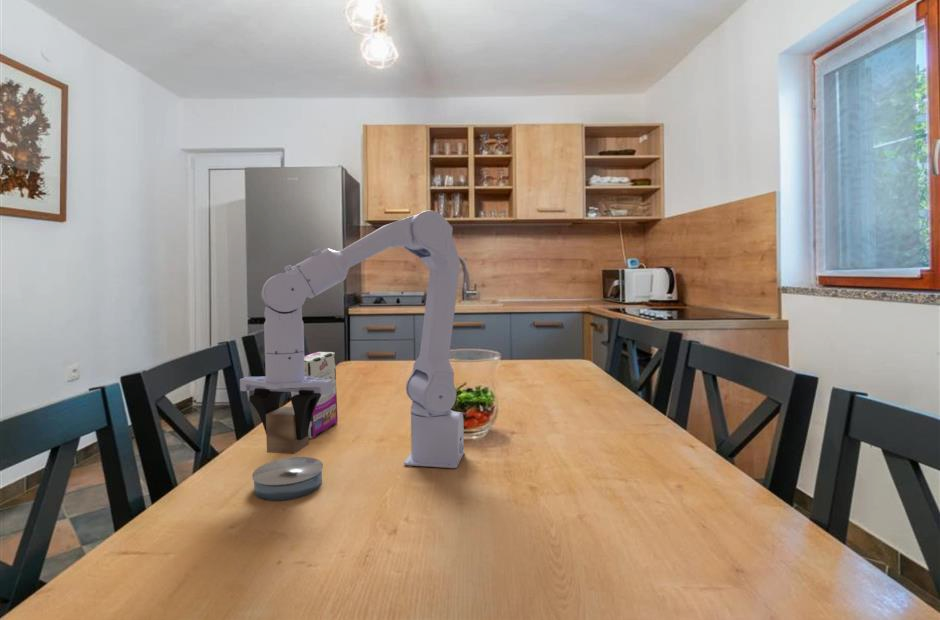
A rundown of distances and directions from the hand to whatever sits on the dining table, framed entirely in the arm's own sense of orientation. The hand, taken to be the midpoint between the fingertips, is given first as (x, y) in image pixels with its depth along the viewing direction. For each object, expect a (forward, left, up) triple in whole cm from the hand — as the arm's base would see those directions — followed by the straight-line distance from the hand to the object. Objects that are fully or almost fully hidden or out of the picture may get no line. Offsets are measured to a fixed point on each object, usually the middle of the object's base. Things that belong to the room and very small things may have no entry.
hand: (287, 436), depth 74 cm
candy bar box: (+9, -27, -8) cm, 29 cm away
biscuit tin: (0, 0, -8) cm, 8 cm away
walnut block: (0, 0, -2) cm, 2 cm away
